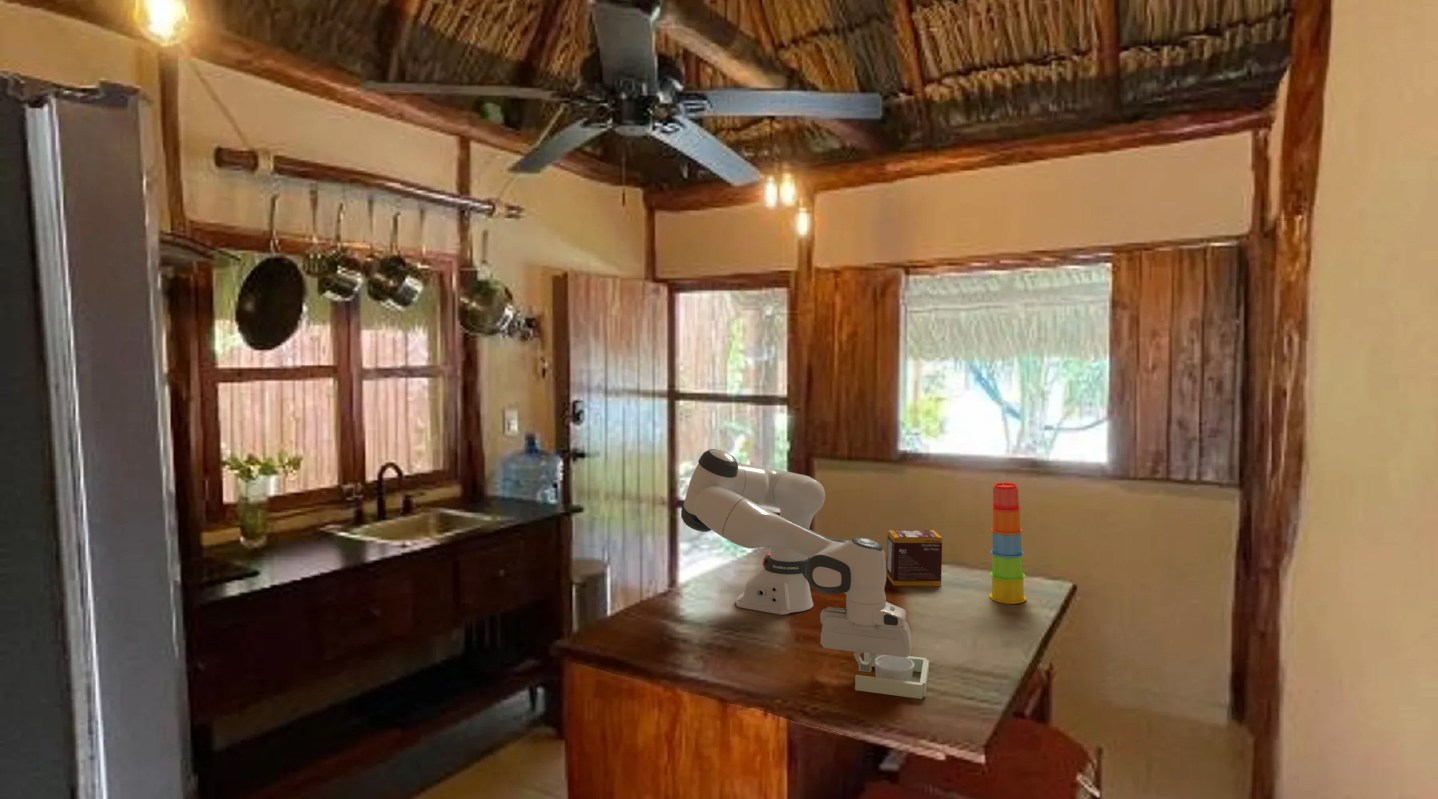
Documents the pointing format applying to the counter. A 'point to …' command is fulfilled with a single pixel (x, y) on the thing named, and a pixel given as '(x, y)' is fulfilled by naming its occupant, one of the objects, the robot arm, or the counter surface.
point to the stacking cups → (1006, 546)
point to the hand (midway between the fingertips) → (865, 670)
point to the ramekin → (894, 668)
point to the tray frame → (896, 681)
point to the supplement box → (914, 557)
